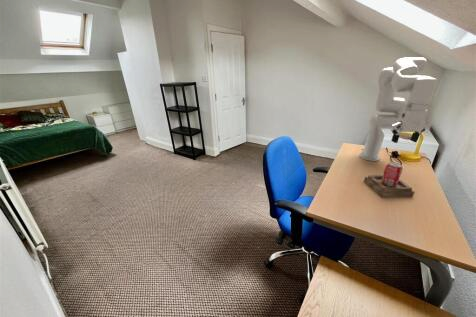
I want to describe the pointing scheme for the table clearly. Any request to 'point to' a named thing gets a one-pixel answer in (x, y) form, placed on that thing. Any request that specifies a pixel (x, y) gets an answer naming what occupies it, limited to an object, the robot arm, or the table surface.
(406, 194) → the walnut tray
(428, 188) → the table surface
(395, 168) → the soda can
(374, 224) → the table surface
